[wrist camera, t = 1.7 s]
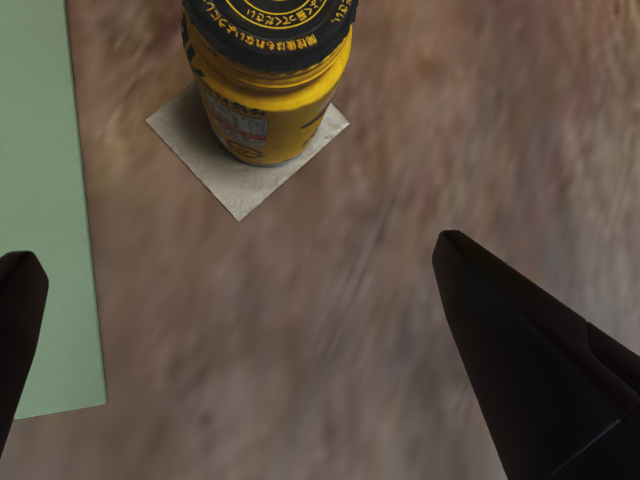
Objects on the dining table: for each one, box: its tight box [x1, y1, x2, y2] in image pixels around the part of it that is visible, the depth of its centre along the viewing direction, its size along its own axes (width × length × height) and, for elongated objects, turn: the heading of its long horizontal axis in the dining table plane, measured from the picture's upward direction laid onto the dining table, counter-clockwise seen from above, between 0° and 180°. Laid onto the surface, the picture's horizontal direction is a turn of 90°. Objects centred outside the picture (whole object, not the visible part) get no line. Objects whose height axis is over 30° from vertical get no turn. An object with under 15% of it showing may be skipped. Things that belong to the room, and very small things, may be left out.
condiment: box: [145, 0, 358, 222], centre depth 17 cm, size 7×8×12 cm
